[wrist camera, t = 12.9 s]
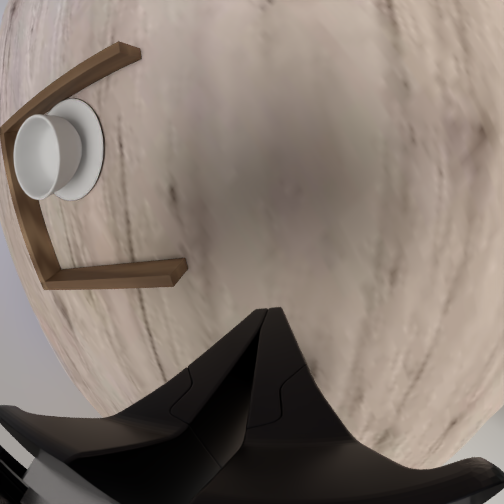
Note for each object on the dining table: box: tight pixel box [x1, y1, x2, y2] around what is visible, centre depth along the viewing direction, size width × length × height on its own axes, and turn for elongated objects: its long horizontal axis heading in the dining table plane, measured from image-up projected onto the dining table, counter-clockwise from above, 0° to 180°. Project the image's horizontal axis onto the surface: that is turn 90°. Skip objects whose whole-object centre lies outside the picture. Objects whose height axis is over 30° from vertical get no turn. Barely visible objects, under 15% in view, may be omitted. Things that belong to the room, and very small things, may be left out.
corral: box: [0, 41, 188, 290], centre depth 21 cm, size 19×18×3 cm
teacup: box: [14, 98, 103, 201], centre depth 19 cm, size 10×10×5 cm
